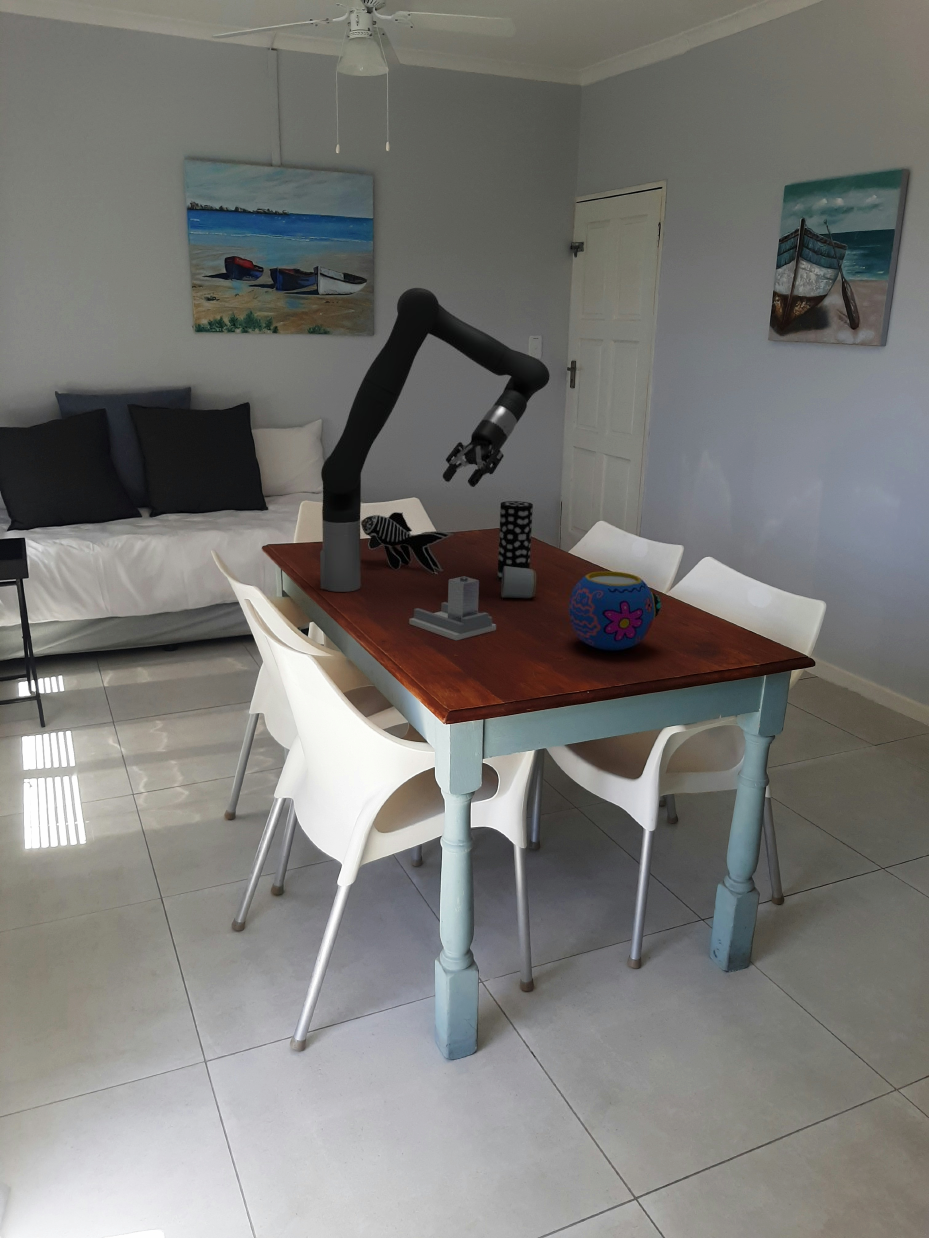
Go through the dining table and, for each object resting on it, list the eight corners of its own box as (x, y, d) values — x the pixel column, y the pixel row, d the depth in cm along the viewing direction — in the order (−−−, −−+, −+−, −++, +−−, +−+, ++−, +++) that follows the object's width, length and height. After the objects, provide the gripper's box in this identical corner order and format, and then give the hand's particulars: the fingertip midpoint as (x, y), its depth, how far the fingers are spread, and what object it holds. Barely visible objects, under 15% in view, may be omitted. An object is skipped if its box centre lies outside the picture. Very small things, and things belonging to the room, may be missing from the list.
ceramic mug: (536, 601, 235) (537, 570, 233) (502, 600, 234) (503, 569, 232) (531, 591, 245) (533, 561, 243) (499, 590, 245) (500, 560, 242)
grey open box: (409, 624, 214) (409, 605, 213) (449, 614, 222) (449, 596, 221) (456, 640, 203) (456, 621, 202) (496, 629, 211) (496, 611, 210)
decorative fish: (370, 545, 275) (380, 494, 270) (451, 576, 267) (463, 524, 261) (340, 555, 262) (350, 503, 256) (425, 588, 253) (437, 534, 248)
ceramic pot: (669, 652, 200) (676, 582, 196) (602, 665, 191) (608, 592, 187) (613, 630, 214) (619, 564, 210) (549, 641, 205) (553, 572, 201)
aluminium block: (447, 624, 210) (448, 577, 207) (462, 620, 214) (464, 574, 211) (462, 629, 207) (463, 581, 204) (477, 625, 210) (479, 578, 207)
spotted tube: (492, 580, 253) (496, 504, 247) (503, 573, 260) (506, 500, 255) (523, 584, 250) (526, 507, 244) (533, 577, 257) (537, 503, 252)
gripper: (465, 416, 231) (428, 467, 227) (508, 421, 222) (471, 475, 217) (480, 437, 236) (445, 488, 232) (523, 443, 227) (487, 496, 222)
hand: (457, 482), depth 225 cm, fingers open, 8 cm apart
